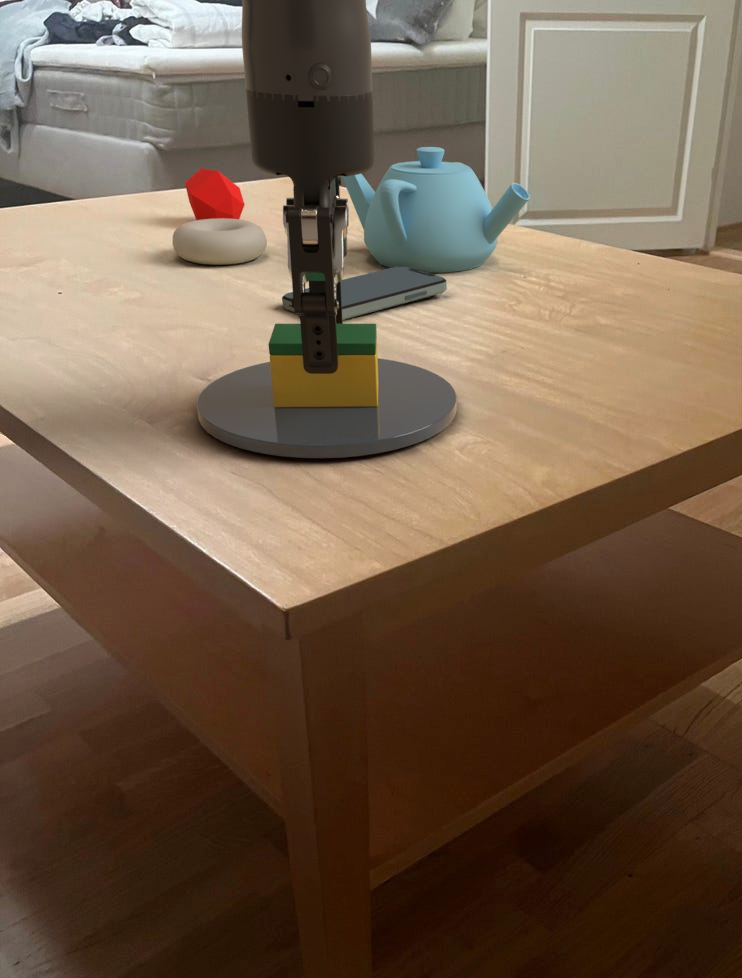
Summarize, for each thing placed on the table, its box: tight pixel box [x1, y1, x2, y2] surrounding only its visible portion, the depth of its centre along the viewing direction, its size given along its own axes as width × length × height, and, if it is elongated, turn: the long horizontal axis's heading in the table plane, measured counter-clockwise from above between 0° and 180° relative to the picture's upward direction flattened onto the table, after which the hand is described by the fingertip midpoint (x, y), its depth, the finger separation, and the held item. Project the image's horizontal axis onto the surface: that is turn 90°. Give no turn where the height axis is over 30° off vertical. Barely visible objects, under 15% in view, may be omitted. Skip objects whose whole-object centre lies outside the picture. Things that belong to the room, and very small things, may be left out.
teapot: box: [341, 146, 531, 274], centre depth 107 cm, size 15×17×11 cm
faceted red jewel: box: [184, 168, 246, 221], centre depth 123 cm, size 7×7×8 cm
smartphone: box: [281, 267, 448, 321], centre depth 95 cm, size 8×2×15 cm
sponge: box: [267, 323, 378, 407], centre depth 69 cm, size 7×5×4 cm, turn 94°
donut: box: [172, 218, 268, 266], centre depth 108 cm, size 10×4×10 cm
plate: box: [196, 357, 458, 459], centre depth 71 cm, size 18×18×1 cm
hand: (324, 351), depth 69 cm, fingers open, 8 cm apart
